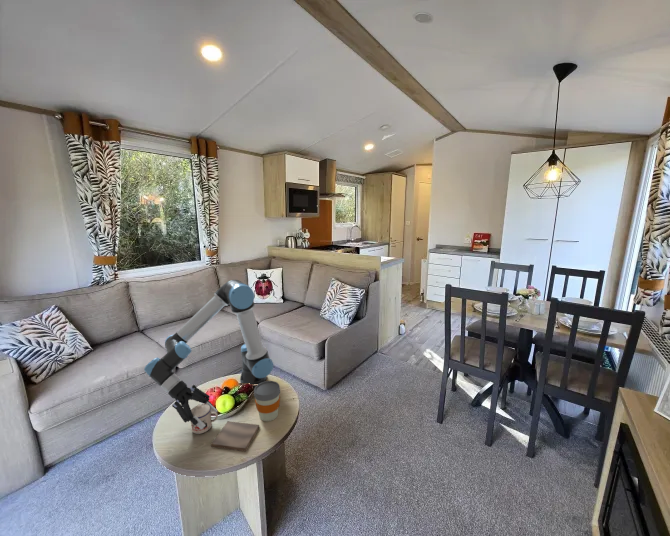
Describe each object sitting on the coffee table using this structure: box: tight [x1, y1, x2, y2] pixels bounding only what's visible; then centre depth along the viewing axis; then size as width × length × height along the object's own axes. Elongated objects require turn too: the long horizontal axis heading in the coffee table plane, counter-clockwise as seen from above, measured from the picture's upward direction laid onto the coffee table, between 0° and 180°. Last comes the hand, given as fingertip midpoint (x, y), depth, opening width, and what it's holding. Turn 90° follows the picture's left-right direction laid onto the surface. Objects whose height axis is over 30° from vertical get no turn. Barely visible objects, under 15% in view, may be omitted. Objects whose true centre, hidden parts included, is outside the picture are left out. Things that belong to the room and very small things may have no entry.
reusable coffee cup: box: [253, 380, 281, 422], centre depth 146 cm, size 12×13×15 cm
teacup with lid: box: [190, 403, 219, 435], centre depth 138 cm, size 12×9×12 cm
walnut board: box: [210, 420, 260, 452], centre depth 134 cm, size 14×16×2 cm
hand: (209, 419), depth 137 cm, fingers closed on teacup with lid, 9 cm apart
